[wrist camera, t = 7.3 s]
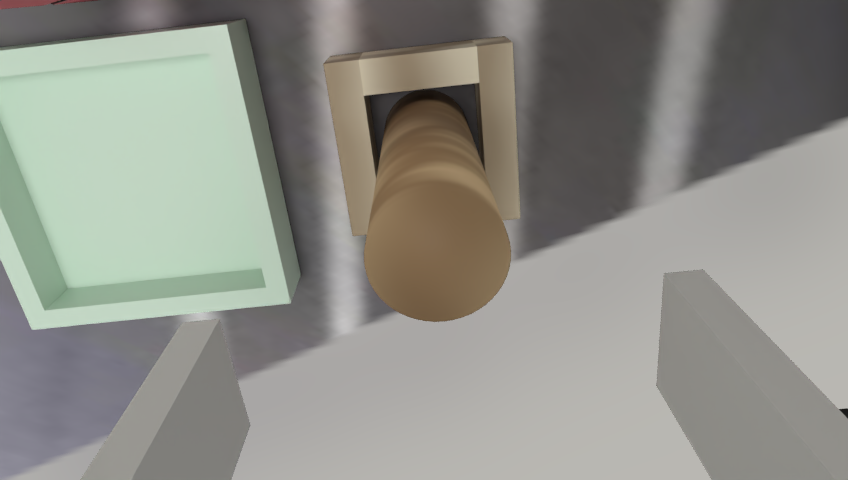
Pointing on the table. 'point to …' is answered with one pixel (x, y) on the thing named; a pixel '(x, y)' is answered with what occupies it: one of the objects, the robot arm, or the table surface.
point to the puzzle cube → (33, 3)
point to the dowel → (433, 215)
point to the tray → (140, 178)
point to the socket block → (414, 71)
